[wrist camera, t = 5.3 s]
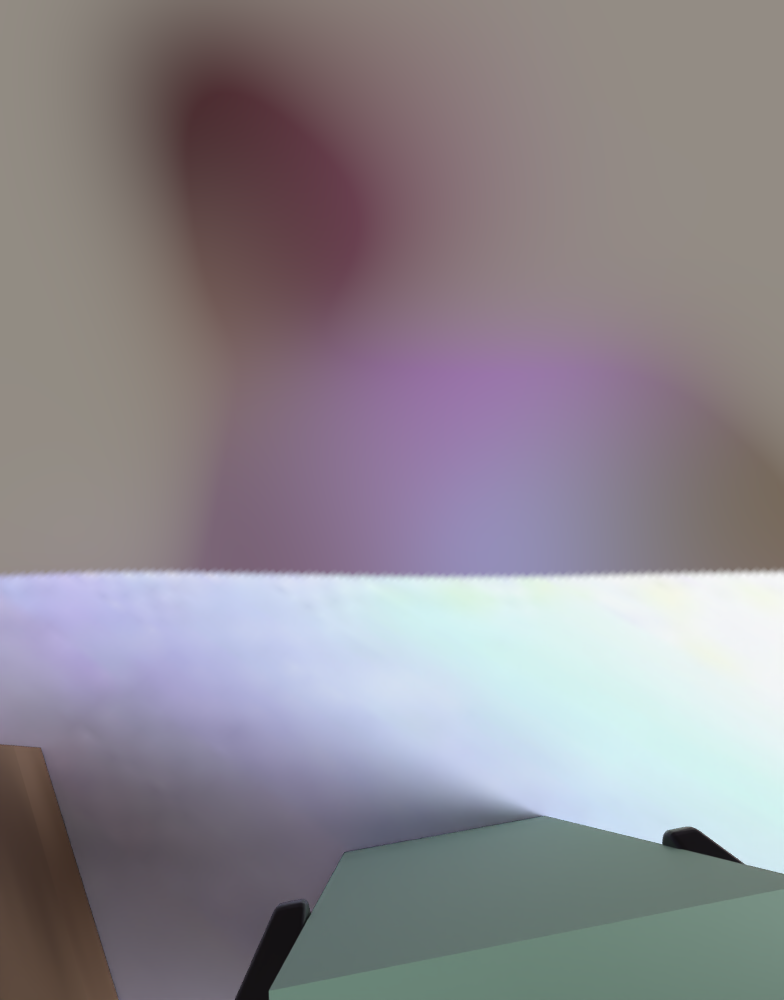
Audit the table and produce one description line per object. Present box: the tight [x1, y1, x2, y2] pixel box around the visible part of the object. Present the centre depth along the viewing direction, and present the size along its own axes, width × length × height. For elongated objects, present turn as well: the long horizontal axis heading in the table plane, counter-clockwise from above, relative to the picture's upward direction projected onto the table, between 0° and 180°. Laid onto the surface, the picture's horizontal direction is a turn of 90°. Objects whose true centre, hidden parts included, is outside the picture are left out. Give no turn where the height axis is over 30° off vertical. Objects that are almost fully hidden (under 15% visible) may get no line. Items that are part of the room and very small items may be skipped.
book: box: [269, 816, 784, 1000], centre depth 9 cm, size 3×5×10 cm, turn 99°
